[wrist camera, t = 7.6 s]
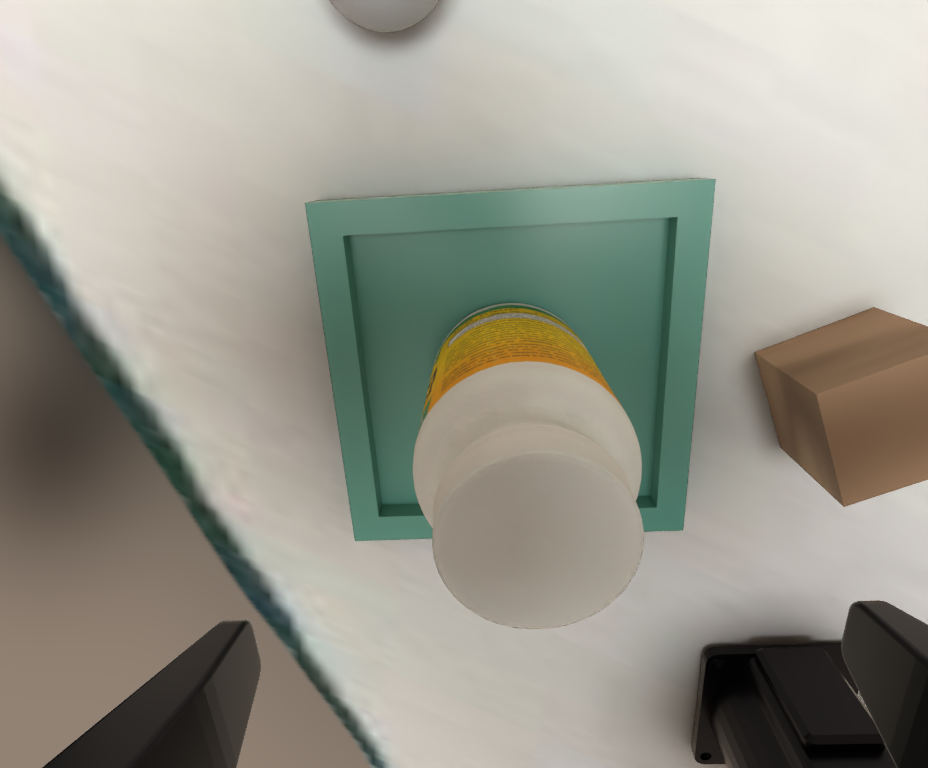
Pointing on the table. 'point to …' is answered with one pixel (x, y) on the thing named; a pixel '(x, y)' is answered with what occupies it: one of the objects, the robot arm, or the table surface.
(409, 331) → the tray
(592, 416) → the supplement bottle
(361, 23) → the grey ball
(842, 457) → the walnut cube
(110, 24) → the table surface
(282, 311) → the table surface
